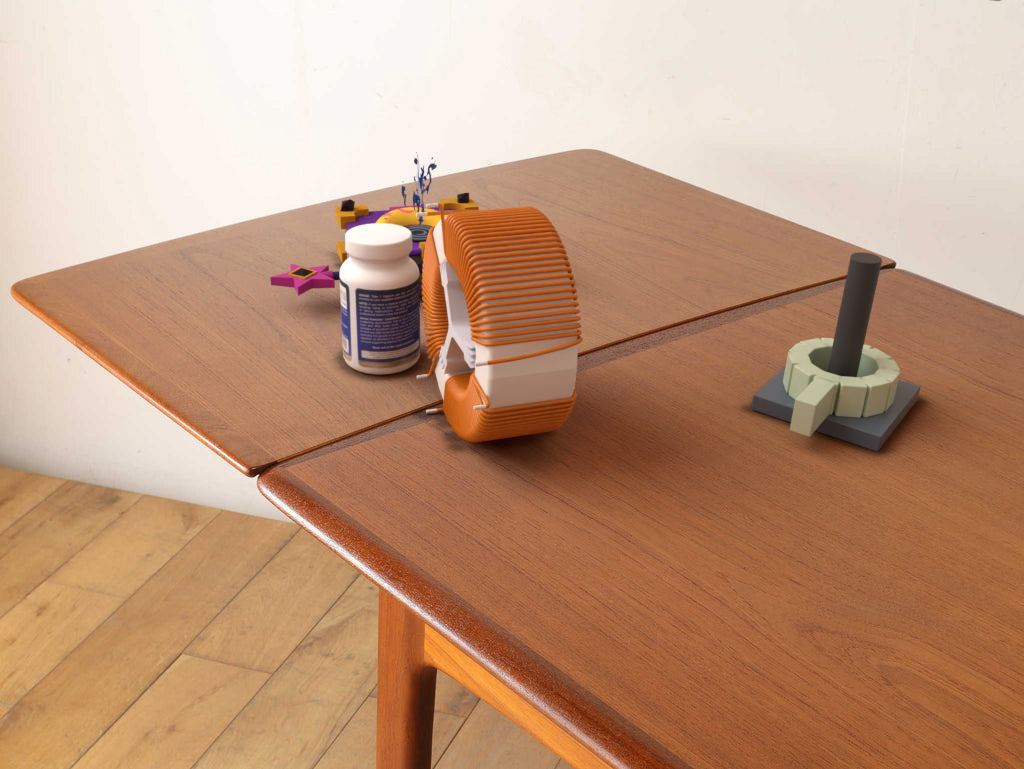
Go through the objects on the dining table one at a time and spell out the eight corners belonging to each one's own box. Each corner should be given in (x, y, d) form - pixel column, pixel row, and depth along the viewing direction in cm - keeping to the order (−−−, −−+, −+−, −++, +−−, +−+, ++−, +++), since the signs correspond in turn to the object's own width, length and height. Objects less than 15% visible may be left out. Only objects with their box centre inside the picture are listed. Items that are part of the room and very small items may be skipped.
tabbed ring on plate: (905, 387, 75) (912, 357, 74) (854, 452, 67) (862, 419, 66) (805, 357, 79) (811, 328, 78) (746, 416, 70) (751, 384, 69)
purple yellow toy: (571, 294, 91) (581, 154, 85) (276, 322, 83) (265, 171, 78) (517, 236, 103) (523, 110, 97) (256, 256, 95) (245, 121, 90)
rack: (917, 400, 76) (954, 255, 71) (877, 452, 69) (914, 296, 64) (798, 364, 80) (825, 224, 75) (750, 409, 74) (776, 260, 68)
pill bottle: (435, 355, 79) (435, 230, 75) (388, 385, 75) (385, 253, 70) (375, 336, 82) (372, 213, 77) (326, 363, 78) (320, 235, 73)
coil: (500, 370, 78) (507, 174, 70) (578, 478, 65) (597, 253, 58) (409, 382, 75) (407, 180, 68) (472, 496, 63) (478, 265, 56)
